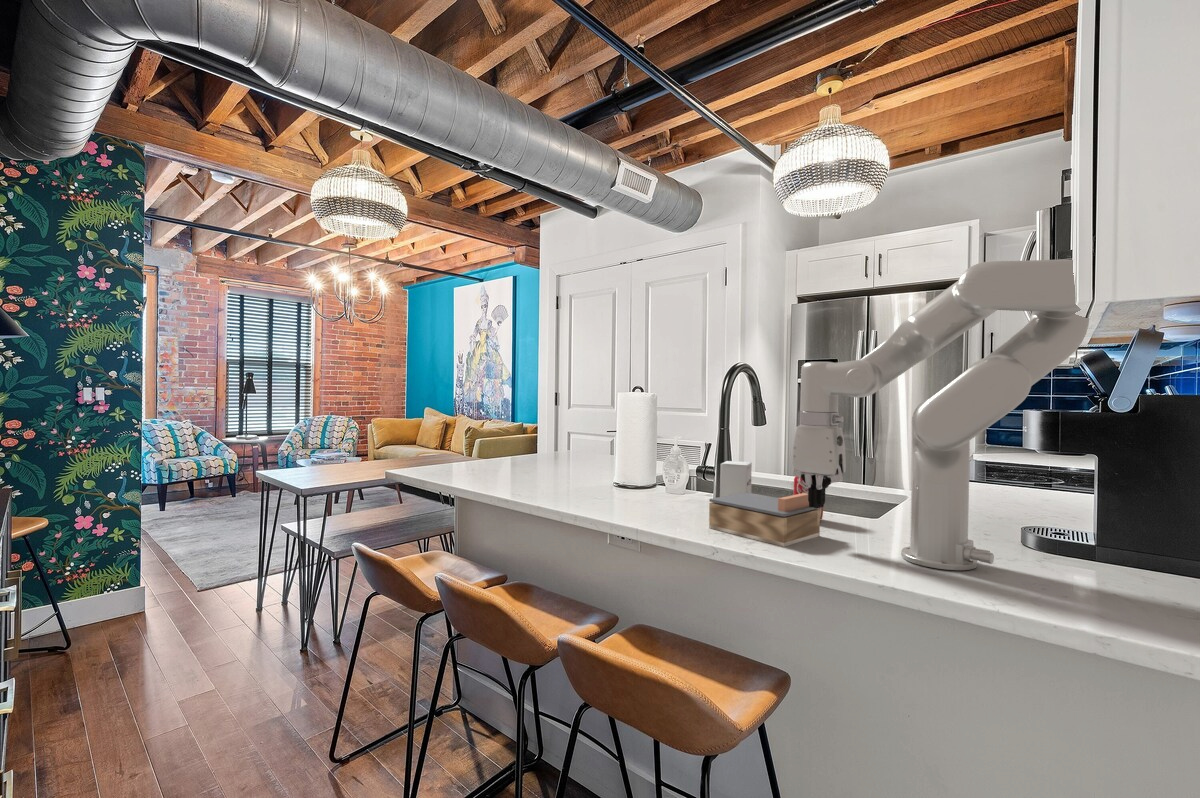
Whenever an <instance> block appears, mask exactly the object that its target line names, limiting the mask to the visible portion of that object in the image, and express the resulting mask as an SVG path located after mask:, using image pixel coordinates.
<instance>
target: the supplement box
mask: <svg viewBox="0 0 1200 798" xmlns="http://www.w3.org/2000/svg"><path fill="white" fill-rule="evenodd" d="M752 464H753V463H752V461H751V462H750V461H735V460H726V461H724V462H721V463H720V467H719V468H720V477H719V481H720V482H719V497H723V496H728V495H734V494H739V493H745V492H747V493H752Z"/></svg>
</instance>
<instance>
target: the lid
mask: <svg viewBox="0 0 1200 798" xmlns="http://www.w3.org/2000/svg"><path fill="white" fill-rule="evenodd" d="M708 500H709V501H708V503H711V502H714V503H719V504H724V505H729V506H734V507H739V508H744V509H748V510H753V511H758V512H763V513H768V514H773V515H778V516H783V517H786V516H790V515H794V514H798V513H802V512H806V511H810V510H814V509H818V508H814V507H809V501H808V494H807V493H801V494H797V495H793V494H791V495H787V496H784V497H783V496H782V497H775V496H774V497H773V496H769V495H763V494H759V493H753V492H751V493H747V492H745V493H739V494H734V495H728V496H723V497H720V496H719V497H712V498H709V499H708Z"/></svg>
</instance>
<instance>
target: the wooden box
mask: <svg viewBox="0 0 1200 798" xmlns="http://www.w3.org/2000/svg"><path fill="white" fill-rule="evenodd" d="M708 503H709V507H708V509H709V510H708V511H709V517H708V518H709V519H708V520H709V521H708V522H709V523H708V526H709V527H708V528H709V529H712V530H715V531H718V532H724V533H728V534H732V535H736V536H740V537H743V538H747V539H751V540H756V541H759V542H763V543H767V544H770V545H775V546H778V547H783V548H784V547H787V546H792V545H794V544H797V543H801V542H805V541H808V540H811V539H815V538H818V537H820V534H821V533H820V532H821V531H820V530H821V529H820V527H821V525H820V524H821V520H820V509H814V510H810V511H806V512H802V513H798V514H794V515H790V516H786V517H783V516H778V515H773V514H768V513H763V512H758V511H753V510H748V509H744V508H739V507H734V506H729V505H724V504H719V503H714V502H708Z"/></svg>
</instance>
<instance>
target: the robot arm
mask: <svg viewBox="0 0 1200 798" xmlns="http://www.w3.org/2000/svg"><path fill="white" fill-rule="evenodd" d="M1073 260H1074V259H1038V260H1034V259H1033V260H1030V259H1029V260H993V261H991V260H990V261H983V262H979V263H975V264H973V265H971V266H970V267H967V269H965V270H964V271H963V272H962V273H961V276H960V277H959V278H958V280H957V281H955V282H954V283H953V284H952V285H950V286H949V287H947V288H945V290H943V291H942V292H941V293H940V294H938V295H936V296H935V297H934V298H933V299H931V300H930V301H929V302H927V303H926V304H924V305H923V306H922V307H920V308H919V309H917V310H916V311H914V312H913V313H911V314H910V315H909V316H907V317H906V318H905V319H904V320H903V321H902V322H901V324H899V326H898V327H897V329H895V331H894V332H893V333H892V334H891V335H890V336H889V337H888V338H886V340H884V341H883V342H882V343H881V344H879V345H878V346H877V347H876V348H874V349H873V350H871V351H870V352H869V353H867V354H866V355H865V356H863V357H862V358H861V359H858V360H857V359H856V360H855V359H853V360H848V361H847V360H846V361H838V362H833V361H807V362H805V363H803V364H802V365H801V368H800V400H799V401H800V402H799V403H800V404H799V425H796V429H795V433H794V439H793V447H792V455H791V457H792V458H791V462H792V463H791V465H792V468H793V472H792V474H793V476H797V477H799V478H802V480H803V481H804V482H805V483H806V487H807V488H808V501H809V507H814V508H820V507H823V508H824V506H825V504H826V489H828V488H829V486H830V485H831V484H834V483H841V482H843V481H844V477H843V474H845V472H846V471H847V470H846V469H847V464H846V462H847V457H846V444H845V437H844V431H843V428H842V427H838V426H839V424H840V423H844V421H845V420H844V416H843V415H842V416H841V415H840V412H839V397H840V396H845V397H850V398H865V397H869V396H871V395H874V394H875V393H877V392H878V391H879V390H882V389H883V388H884V387H885V386H887V385H888V384H890V383H891V382H892V381H894V380H895V379H897V378H898V377H900V376H902V375H903V374H905V373H906V372H907V371H909V370H910V369H911V368H913V367H914V366H916V365H918V364H919V363H920V362H923V361H925V360H926V359H928V358H930V357H932V356H933V355H935V354H936V353H937V352H939V351H940V350H942V349H943V348H944V347H946V346H948V345H949V344H950V343H952V342H953V341H954V340H956V339H957V338H959V337H960V336H962V335H963V334H965V333H967V332H968V331H969V330H970V329H972V328H973V327H975V326H977V325H978V324H979V323H981V322H982V321H984V320H986V319H987V318H988V317H990V316H991V315H993V313H995V312H997V311H1011V312H1012V311H1013V312H1031V315H1030V319H1029V321H1028V322H1027V324H1026V325H1025V326H1024V327H1023V328H1021V329H1020V330H1019V331H1017V332H1016V333H1015V334H1014V335H1012V336H1011V337H1010V338H1009V339H1008V340H1006V342H1004V343H1003V344H1001V345H1000V346H999V347H998V348H996V349H995V350H994V351H992V352H991V353H990V354H988V355H987V356H985V357H984V358H981V359H979V360H977V361H975V362H974V363H972V364H971V365H970V366H969V367H968V368H967V369H966V370H965V371H964V372H962V373H960V374H959V375H958V376H957V377H955V378H954V379H953V380H951V382H949V383H948V384H947V385H945V386H944V387H943V388H941V389H940V390H939V391H938V392H936V393H935V394H934V395H932V396H931V397H930V398H926V400H923V401H921V403H919V405H917V406H916V408H915V409H914V411H913V413H912V417H911V438H912V439H911V441H912V442H911V443H912V444H911V445H912V446H911V479H910V480H911V482H910V483H911V490H910V491H911V493H910V496H911V497H910V537H909V538H910V540H909V541H910V543H909V544H910V545H909V546H906V547H902V549H901V551H900V552H901V553H900V556H901V557H902V558H903V559H904V560H906V561H907V562H910V563H913V564H915V565H918V566H922V567H928V568H932V569H937V570H938V569H939V570H943V571H944V570H945V571H946V570H947V571H970V570H974V569H975V568H978V561H979V562H981V563H986V564H989V565H990V564H991V565H992V564H993V563H994V560H995V555H994V553H993V552H991V550H986V549H981V548H977V547H976V546H974V540H973V539H969V507H970V505H969V502H970V501H969V499H970V498H969V496H970V475H971V473H970V466H971V465H970V464H971V463H970V460H971V459H970V458H971V456H970V454H971V452H970V450H971V449H970V441H971V440H973V439H974V438H976V437H977V436H978V435H980V434H981V433H983V432H984V431H985V430H987V429H988V428H990V427H991V426H993V425H994V424H995V423H997V422H998V421H1000V420H1001V419H1003V418H1004V417H1006V415H1009V413H1011V412H1012V411H1014V410H1015V409H1016V408H1018V406H1020V405H1021V404H1022V403H1023V402H1024V401H1025V400H1026V398H1028V397H1029V393H1030V391H1031V389H1032V386H1033V385H1035V384H1036V383H1038V382H1039V381H1041V380H1042V379H1044V377H1046V376H1047V375H1048V374H1050V373H1051V372H1052V371H1053V370H1054V369H1056V368H1057V367H1058V366H1060V365H1061V364H1062V363H1063V362H1065V361H1066V360H1067V359H1068V358H1070V357H1071V356H1072V354H1074V353H1075V352H1076V351H1077V349H1079V347H1080V345H1081V344H1082V343H1083V342H1084V340H1085V337H1086V335H1087V331H1088V329H1089V325H1090V317H1089V318H1085V317H1082V316H1079V315H1076V314H1075V313H1076V312H1078V311H1080V310H1081V309H1080V308H1079V307H1078V306H1077V305H1076V304H1075V285H1074V275H1073V274H1074V273H1073ZM817 475H818V478H817Z"/></svg>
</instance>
